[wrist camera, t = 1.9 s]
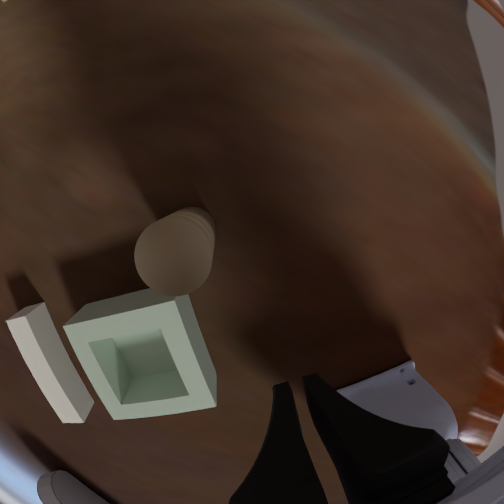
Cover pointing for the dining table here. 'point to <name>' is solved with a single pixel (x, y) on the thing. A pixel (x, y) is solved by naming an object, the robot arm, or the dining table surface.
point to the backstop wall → (50, 363)
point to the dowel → (176, 252)
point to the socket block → (144, 354)
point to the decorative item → (65, 490)
